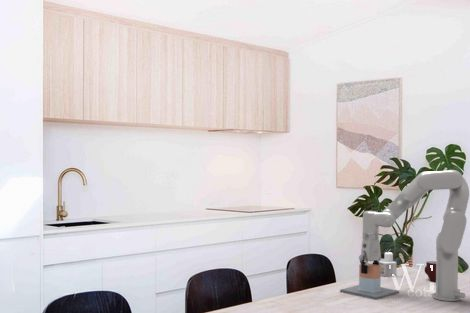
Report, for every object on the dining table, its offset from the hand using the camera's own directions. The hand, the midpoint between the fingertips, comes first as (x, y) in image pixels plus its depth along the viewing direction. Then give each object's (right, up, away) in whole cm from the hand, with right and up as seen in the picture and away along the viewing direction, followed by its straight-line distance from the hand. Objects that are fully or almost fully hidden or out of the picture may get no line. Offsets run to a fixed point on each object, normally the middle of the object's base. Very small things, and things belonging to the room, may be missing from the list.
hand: (370, 272), depth 284 cm
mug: (+40, -11, +30) cm, 51 cm away
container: (+19, -11, +43) cm, 49 cm away
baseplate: (0, -10, 0) cm, 10 cm away
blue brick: (0, -9, 0) cm, 9 cm away
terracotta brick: (0, -3, 0) cm, 2 cm away
